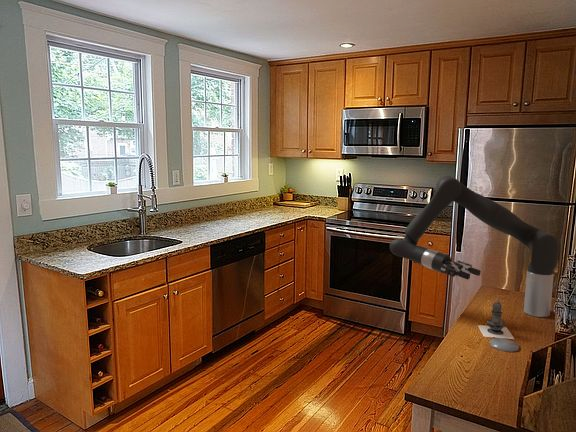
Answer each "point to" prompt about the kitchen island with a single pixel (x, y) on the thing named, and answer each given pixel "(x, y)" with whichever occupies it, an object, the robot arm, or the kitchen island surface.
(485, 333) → the card
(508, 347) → the coaster
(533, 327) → the kitchen island surface
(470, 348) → the kitchen island surface
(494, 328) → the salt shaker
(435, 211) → the robot arm
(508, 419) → the kitchen island surface
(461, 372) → the kitchen island surface
